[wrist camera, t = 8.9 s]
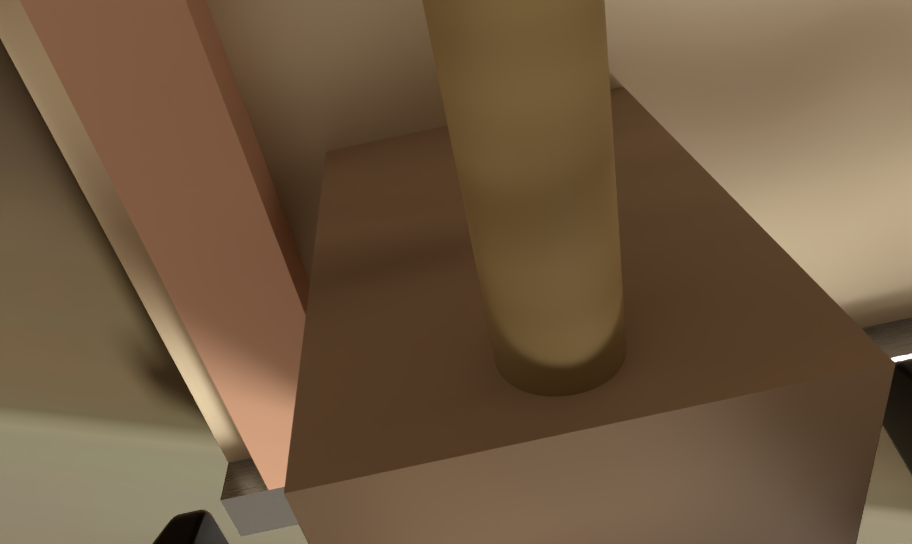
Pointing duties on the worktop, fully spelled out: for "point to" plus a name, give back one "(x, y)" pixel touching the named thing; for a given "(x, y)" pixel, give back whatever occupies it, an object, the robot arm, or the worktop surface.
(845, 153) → the maple board
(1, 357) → the worktop surface
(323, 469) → the marking gauge
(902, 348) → the guide rail
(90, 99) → the bar
